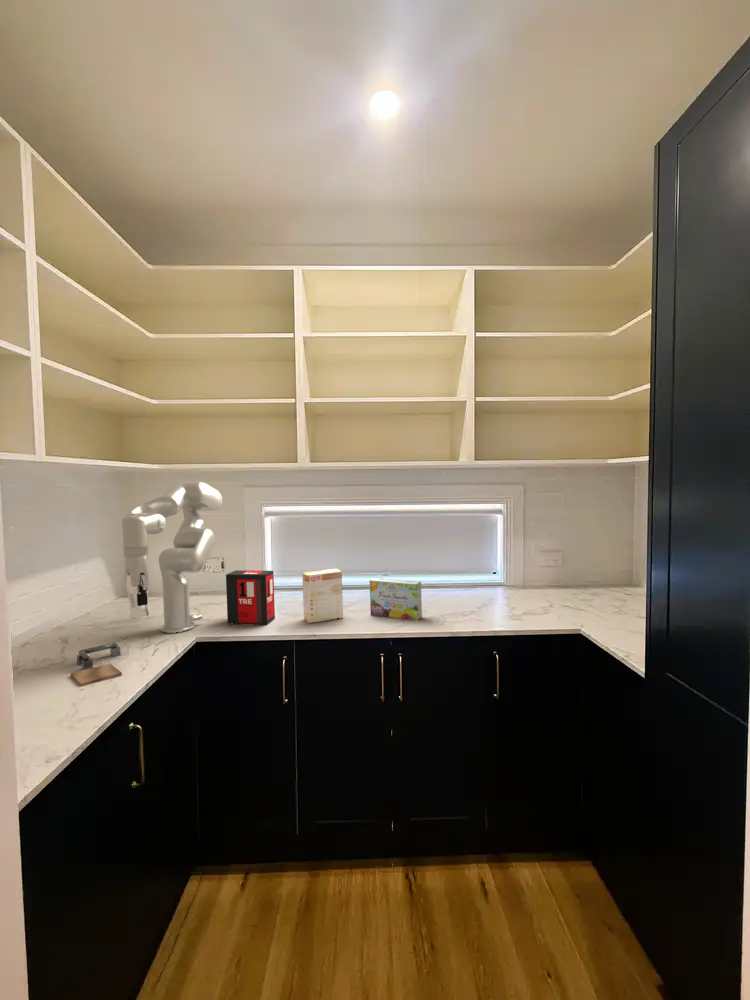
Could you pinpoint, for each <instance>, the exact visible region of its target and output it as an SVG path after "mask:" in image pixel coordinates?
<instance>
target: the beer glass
mask: <svg viewBox="0 0 750 1000" xmlns="http://www.w3.org/2000/svg"><path fill="white" fill-rule="evenodd" d="M130 577H131V576H130V575H128V574H127V581H126V592H127V596H128V600H129V601H128V602H129V606H130V612H129V618H130V619H133V620H135V619H136V620H137V619H143V618H147V617H149V616H150V613H149V609H148V608H149V607H148V604H147V605H142V606H138V605H137V594H138V592H137V585H136V586H135V587H133V586H131V578H130ZM141 584H142V582H141V579H140V581H139V584H138V585H141ZM141 587H142V586H141ZM141 587H140V589H141ZM149 591H150V581H149V579H148V586H147V601H148V599H149Z"/></svg>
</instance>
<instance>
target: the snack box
mask: <svg viewBox="0 0 750 1000" xmlns="http://www.w3.org/2000/svg"><path fill="white" fill-rule="evenodd" d="M369 596H370V597H369V600H370V602H369V603H370V616H374V617H375V616H377V617H386V618H392V619H400V620H411V621H419V620H420V619H421V618H422V616H423V613H422V612H423V610H422V609H423V606H422V605H423V603H422V602H423V601H422V582H421V581H417V580H406V579H404V580H403V579H396V578H395V579H393V578H383V577H382V578H381V577H380V578H379V577H373V578H371V579H370V580H369Z"/></svg>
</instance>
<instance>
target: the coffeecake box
mask: <svg viewBox="0 0 750 1000" xmlns="http://www.w3.org/2000/svg"><path fill="white" fill-rule="evenodd" d="M301 573H302V601H303V602H302V603H303V620H304V621H306V622H307V623H308V624H312V623H317V622H318V623H319V622H325V621H330V620H331V619H332V620H337V618H339V619H344V605H343V604H344V603H343V601H344V599H343V571H342V570H340V569H339V568H330V569H322V570H313V571H303V572H301ZM332 620H331V621H332Z"/></svg>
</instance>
